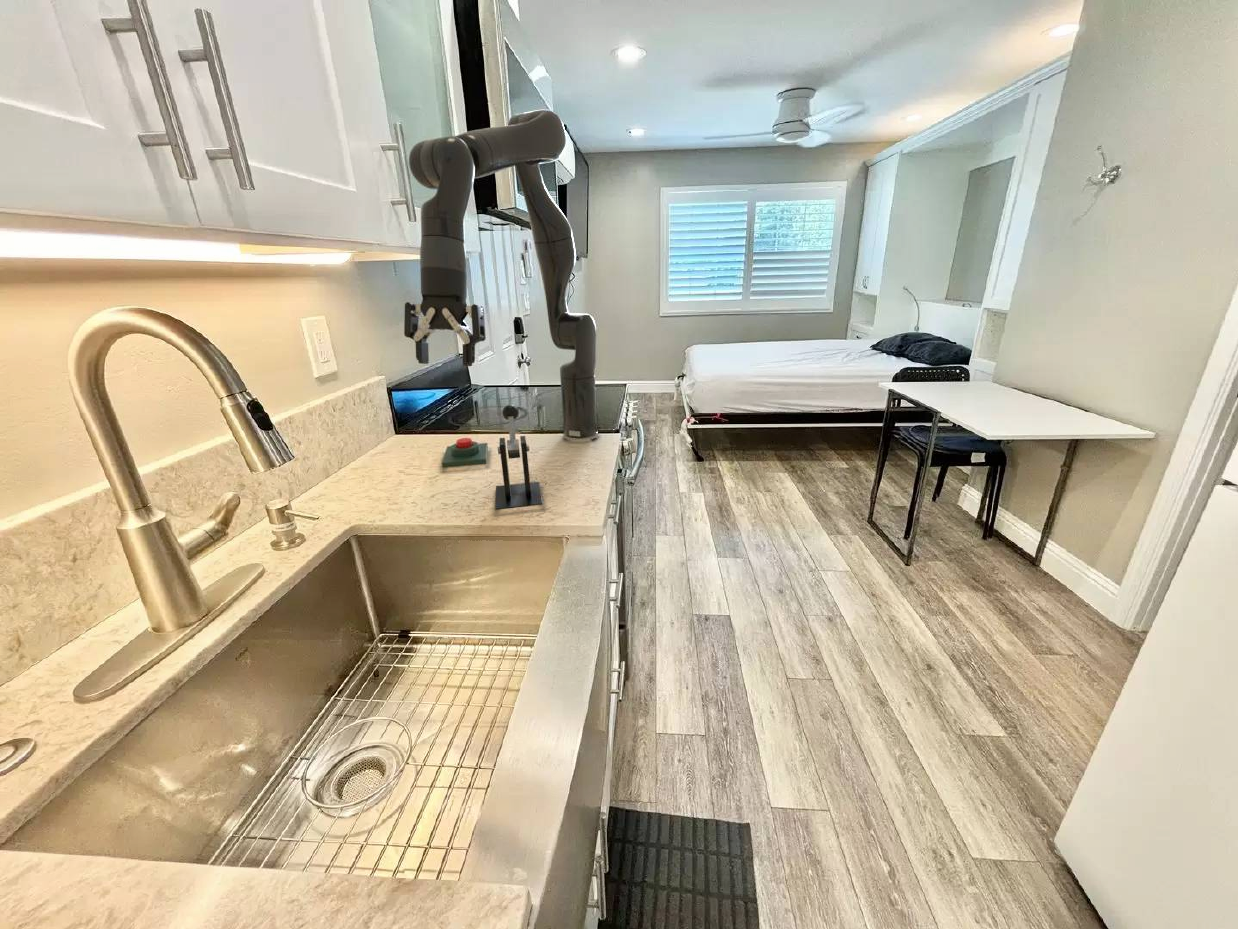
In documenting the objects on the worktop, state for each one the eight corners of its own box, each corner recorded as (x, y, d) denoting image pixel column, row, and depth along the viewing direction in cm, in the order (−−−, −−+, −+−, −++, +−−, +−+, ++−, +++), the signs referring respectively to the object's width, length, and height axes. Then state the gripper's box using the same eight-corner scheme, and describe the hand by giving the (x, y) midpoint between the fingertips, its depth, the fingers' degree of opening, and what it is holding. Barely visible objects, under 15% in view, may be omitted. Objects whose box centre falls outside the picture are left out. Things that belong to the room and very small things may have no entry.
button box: (448, 454, 126) (446, 439, 124) (488, 450, 128) (486, 436, 126) (443, 471, 115) (440, 455, 113) (486, 467, 117) (484, 451, 115)
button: (457, 445, 121) (456, 438, 121) (473, 443, 122) (472, 437, 121) (456, 450, 118) (455, 443, 117) (472, 448, 119) (471, 441, 118)
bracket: (496, 491, 104) (489, 433, 99) (539, 486, 106) (534, 429, 101) (496, 514, 94) (487, 451, 89) (543, 509, 96) (537, 447, 91)
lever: (502, 414, 105) (501, 401, 103) (518, 413, 106) (517, 400, 103) (505, 460, 96) (504, 448, 93) (523, 459, 96) (522, 446, 94)
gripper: (492, 273, 87) (491, 367, 90) (418, 272, 89) (420, 363, 92) (471, 265, 79) (472, 367, 83) (392, 263, 82) (396, 362, 85)
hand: (445, 364), depth 87 cm, fingers open, 8 cm apart
